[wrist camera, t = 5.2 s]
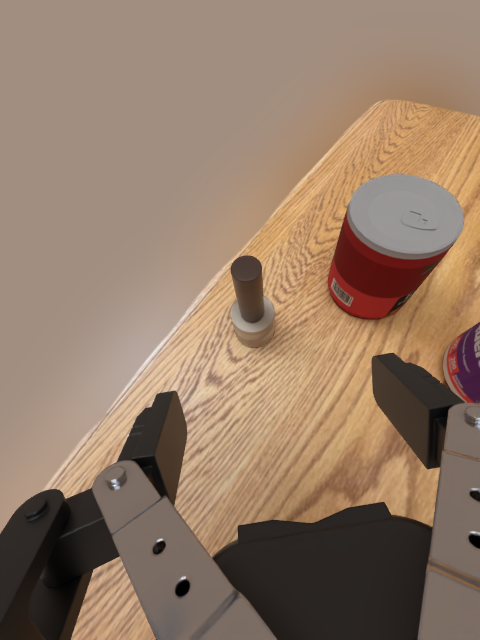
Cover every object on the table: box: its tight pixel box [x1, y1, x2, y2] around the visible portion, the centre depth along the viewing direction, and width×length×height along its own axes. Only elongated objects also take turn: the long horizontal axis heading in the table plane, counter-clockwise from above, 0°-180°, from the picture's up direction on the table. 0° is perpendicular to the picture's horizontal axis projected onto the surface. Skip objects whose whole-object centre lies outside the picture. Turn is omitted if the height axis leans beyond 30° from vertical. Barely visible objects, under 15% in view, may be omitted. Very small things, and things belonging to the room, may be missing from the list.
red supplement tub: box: [328, 174, 464, 319], centre depth 27 cm, size 8×8×11 cm
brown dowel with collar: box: [231, 256, 275, 348], centre depth 27 cm, size 4×4×11 cm
